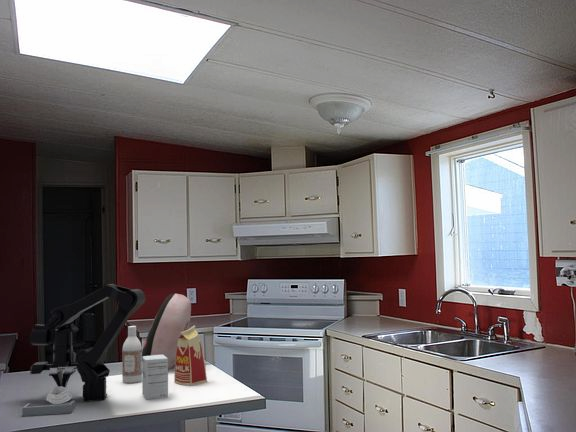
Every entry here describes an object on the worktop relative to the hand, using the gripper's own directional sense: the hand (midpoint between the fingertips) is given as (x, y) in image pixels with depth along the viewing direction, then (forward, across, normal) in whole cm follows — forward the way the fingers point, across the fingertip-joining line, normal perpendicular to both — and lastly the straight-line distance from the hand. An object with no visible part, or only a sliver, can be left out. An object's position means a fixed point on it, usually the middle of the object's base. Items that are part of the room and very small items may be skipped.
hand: (62, 393), depth 179 cm
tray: (+2, 0, +16) cm, 16 cm away
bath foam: (+2, -20, -19) cm, 27 cm away
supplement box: (+2, -30, +4) cm, 30 cm away
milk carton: (+2, -41, -12) cm, 43 cm away
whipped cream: (+2, 0, +4) cm, 4 cm away
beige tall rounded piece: (+2, -31, -41) cm, 51 cm away
